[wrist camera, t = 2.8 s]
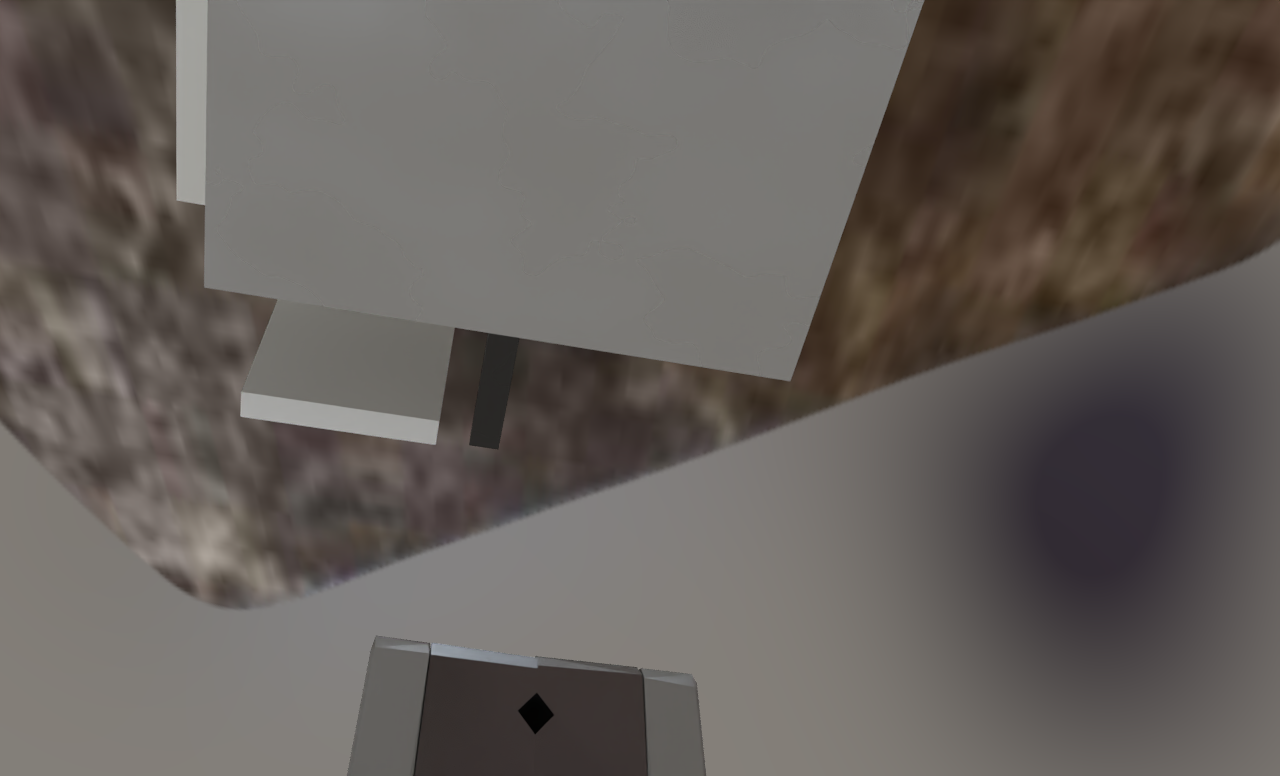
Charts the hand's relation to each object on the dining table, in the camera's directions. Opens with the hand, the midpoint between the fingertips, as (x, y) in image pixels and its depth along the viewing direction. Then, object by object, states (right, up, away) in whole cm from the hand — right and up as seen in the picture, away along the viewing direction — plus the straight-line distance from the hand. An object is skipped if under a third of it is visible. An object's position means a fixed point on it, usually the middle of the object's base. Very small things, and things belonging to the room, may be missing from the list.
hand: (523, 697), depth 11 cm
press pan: (-1, +11, +19) cm, 22 cm away
